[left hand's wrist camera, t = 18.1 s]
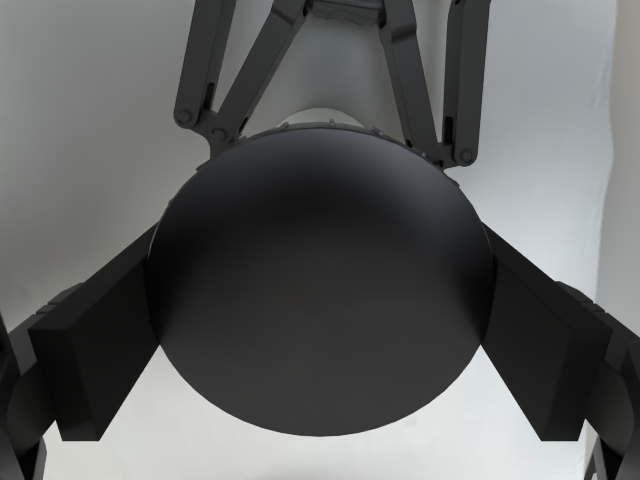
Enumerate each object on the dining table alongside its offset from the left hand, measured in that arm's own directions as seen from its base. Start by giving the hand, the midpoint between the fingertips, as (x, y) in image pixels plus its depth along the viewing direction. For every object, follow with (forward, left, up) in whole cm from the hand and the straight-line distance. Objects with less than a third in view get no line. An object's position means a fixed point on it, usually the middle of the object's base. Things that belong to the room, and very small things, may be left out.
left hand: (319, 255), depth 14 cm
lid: (0, 0, +3) cm, 3 cm away
